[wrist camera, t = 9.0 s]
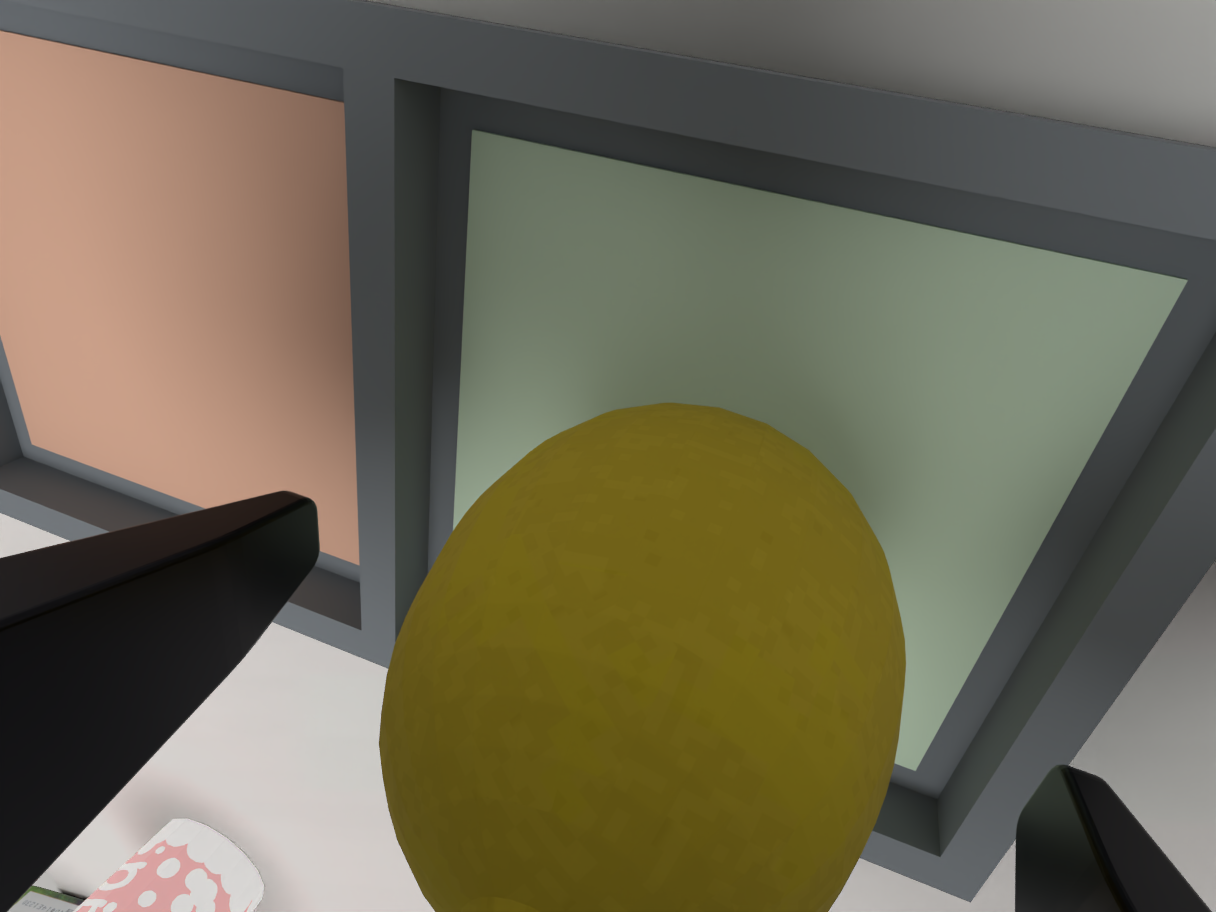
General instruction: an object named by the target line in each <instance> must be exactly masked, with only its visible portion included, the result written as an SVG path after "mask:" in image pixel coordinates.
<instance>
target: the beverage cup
mask: <svg viewBox="0 0 1216 912" xmlns="http://www.w3.org/2000/svg"><path fill="white" fill-rule="evenodd" d="M263 892H264V884H263V882H262V879H261V877H260V874H259V872H258V870H257V869H256V868H255V866H254V865H253V864H252V862H251V861H250V860H249V858H248V857H247V856H246V855H245V853H243V852H242V851H241V850H240V849H239V848H238V847H237V846H236V845H234V844H233V843H232V842H231V841H230V840H229V839H228V838H226V837H225V836H223V835H222V834H220V833H218V832H217V831H215V830H213V829H212V828H210V827H209V826H207V825H204V824H202V823H199V822H196V821H193V820H190V819H172V820H171V821H170V822H169V823H168V824H167V825H166V826H164V827H163V828H162V829H161V830H160V831H159V832H158V833H157V834H156V835H155V836H154V837H153V838H152V839H150V840H149V841H148V842H147V843H146V844H145V845H144V846H143V847H142V848H141V849H140V850H139V851H138V852H136V853H135V854H134V855H133V856H132V857H131V858H130V859H129V860H128V861H127V862H126V863H125V864H124V865H123V866H121V867H120V868H119V869H118V870H117V871H116V872H115V873H114V874H113V875H112V876H111V877H110V878H109V879H107V880H106V881H105V882H104V883H103V884H102V885H101V886H100V887H99V888H98V889H97V890H96V891H95V892H94V893H92V894H91V895H90V896H89V897H88V898H87V899H86V900H85V901H84V902H83V903H82V904H81V905H80V906H78V907H77V908H76V909H75V910H74V911H73V912H253V911H254V909H255V908H256V907H257V905H258V904H259V902H260V901H261V899H262V898H263Z"/></svg>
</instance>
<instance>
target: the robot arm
mask: <svg viewBox="0 0 1216 912" xmlns="http://www.w3.org/2000/svg"><path fill="white" fill-rule="evenodd" d="M319 552H320V542H319V527H318V512H317V506H316V504H315V502H314V501H313V500H312V499H310V498H308V497H305V496H302V495H300V494H297V493H294V492H291V491H284V490H283V491H278V492H273V493H269V494H265V495H261V496H257V497H253V498H249V499H244V500H240V501H236V502H232V503H228V504H224V505H219V506H215V507H211V508H207V509H203V510H199V511H195V512H190V513H186V514H182V515H178V516H174V517H170V518H165V519H161V520H157V521H153V522H149V523H145V524H141V525H136V526H132V527H128V528H124V529H120V530H116V531H111V532H107V533H103V534H99V535H95V536H91V537H87V538H82V539H78V540H74V541H70V542H66V543H62V544H57V545H53V546H49V547H45V548H41V549H37V550H33V551H28V552H24V553H20V554H16V555H12V556H8V557H3V558H0V912H8V911H9V909H10V908H11V907H12V906H13V905H14V904H15V903H16V902H17V901H18V900H19V899H20V898H21V897H22V896H23V895H24V893H25V892H26V891H27V890H28V889H29V888H30V887H31V886H32V885H33V884H34V883H35V882H36V881H37V879H38V878H39V877H40V876H41V875H42V874H43V873H44V872H45V871H46V870H47V869H48V868H49V867H50V866H51V865H52V863H53V862H54V861H55V860H56V859H57V858H58V857H59V856H60V855H61V854H62V853H63V852H64V851H65V850H66V848H67V847H68V846H69V845H70V844H71V843H72V842H73V841H74V840H75V839H76V838H77V837H78V836H79V835H80V833H81V832H82V831H83V830H84V829H85V828H86V827H87V826H88V825H89V824H90V823H91V822H92V821H93V820H94V818H95V817H96V816H97V815H98V814H99V813H100V812H101V811H102V810H103V809H104V808H105V807H106V806H107V805H108V804H109V802H110V801H111V800H112V799H113V798H114V797H115V796H116V795H117V794H118V793H119V792H120V791H121V790H122V789H123V787H124V786H125V785H126V784H127V783H128V782H129V781H130V780H131V779H132V778H133V777H134V776H135V775H136V774H137V772H138V771H139V770H140V769H141V768H142V767H143V766H144V765H145V764H146V763H147V762H148V761H149V760H150V759H151V757H152V756H153V755H154V754H155V753H156V752H157V751H158V750H159V749H160V748H161V747H162V746H163V745H164V744H165V742H166V741H167V740H168V739H169V738H170V737H171V736H172V735H173V734H174V733H175V732H176V731H177V730H178V729H179V727H180V726H181V725H182V724H183V723H184V722H185V721H186V720H187V719H188V718H189V717H190V716H191V715H192V714H193V713H194V711H195V710H196V709H197V708H198V707H199V706H200V705H201V704H202V703H203V702H204V701H205V700H206V699H207V698H208V696H209V695H210V694H211V693H212V692H213V691H214V690H215V689H216V688H217V687H218V686H219V685H220V684H221V683H222V681H223V680H224V679H225V678H226V677H227V676H228V675H229V674H230V673H231V672H232V671H233V669H234V668H235V667H236V666H237V665H238V664H239V663H240V662H241V660H242V659H243V658H244V657H245V656H246V654H247V653H248V652H249V651H250V650H251V648H252V647H253V646H254V645H255V643H256V642H257V641H258V640H259V638H260V637H261V636H262V634H263V633H264V632H265V630H266V629H267V628H268V626H269V625H270V624H271V623H272V621H273V620H274V619H275V617H276V616H277V615H278V613H279V612H280V611H281V609H282V608H283V607H284V606H285V604H286V603H287V602H288V600H289V599H290V598H291V596H292V595H293V594H294V592H295V591H296V590H297V589H298V587H299V586H300V585H301V583H302V582H303V581H304V579H305V578H306V577H307V575H308V574H309V573H310V572H311V570H312V569H313V567H314V566H315V564H316V562H317V559H318V557H319ZM1015 912H1212V911H1211V910H1210V909H1209V908H1208V907H1207V905H1206V904H1205V903H1204V902H1203V900H1202V899H1201V898H1200V897H1199V895H1198V894H1197V893H1196V892H1195V891H1194V889H1193V888H1192V887H1191V886H1190V884H1189V883H1188V882H1187V881H1186V879H1185V878H1184V877H1183V876H1182V875H1181V873H1180V872H1179V871H1178V870H1177V868H1176V867H1175V866H1174V865H1173V863H1172V862H1171V861H1170V860H1169V859H1168V857H1167V856H1166V855H1165V854H1164V852H1163V851H1162V850H1161V849H1160V847H1159V846H1158V845H1157V844H1156V843H1155V841H1154V840H1153V839H1152V838H1151V836H1150V835H1149V834H1148V833H1147V831H1146V830H1145V829H1144V828H1143V827H1142V825H1141V824H1140V823H1139V822H1138V820H1137V819H1136V818H1135V817H1134V815H1133V814H1132V813H1131V812H1130V811H1129V809H1128V808H1127V807H1126V806H1125V804H1124V803H1123V802H1122V801H1121V799H1120V798H1119V797H1118V796H1117V795H1116V793H1115V792H1114V791H1113V790H1112V788H1111V787H1110V786H1109V785H1108V784H1107V783H1106V782H1105V781H1104V780H1103V779H1102V778H1100V777H1098V776H1096V775H1093V774H1090V773H1087V772H1085V771H1082V770H1079V769H1076V768H1073V767H1070V766H1068V765H1056V766H1054V767H1053V768H1052V769H1051V770H1050V771H1049V772H1048V773H1047V775H1046V776H1045V777H1044V779H1043V780H1042V782H1041V783H1040V785H1039V786H1038V787H1037V789H1036V790H1035V792H1034V793H1033V795H1032V796H1031V797H1030V799H1029V800H1028V802H1027V803H1026V805H1025V806H1024V807H1023V809H1022V811H1021V813H1020V815H1019V818H1018V822H1017V828H1016V873H1015Z"/></svg>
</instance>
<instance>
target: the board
mask: <svg viewBox="0 0 1216 912" xmlns="http://www.w3.org/2000/svg"><path fill="white" fill-rule="evenodd" d="M659 403H682V404H691V405H701V406H711V407H720V408H723V409H726V410H729V411H732V412H734V413H737V414H740V415H743V416H746V417H749V418H752V419H755V420H758V421H761V422H764V423H767V424H768V425H770V426H771V427H773V428H775V429H776V430H778V431H779V432H781V433H783V434H784V435H786V436H787V437H789V438H791V439H792V440H794V441H795V442H797V443H799V444H800V445H802V446H803V447H805V448H807V449H808V450H809V451H810V452H811V453H812V454H813V455H814V456H815V457H816V458H817V459H818V460H819V461H820V462H821V463H822V464H823V465H824V466H825V467H826V468H827V469H828V470H829V471H830V472H831V473H832V474H833V475H834V476H835V477H836V478H837V479H838V480H839V481H840V482H841V483H842V484H843V485H844V486H845V487H846V488H847V489H848V491H849V492H850V493H851V494H852V496H853V497H854V499H855V501H856V503H857V504H858V506H859V508H860V509H861V511H862V513H863V515H864V516H865V518H866V520H867V522H868V523H869V525H870V527H871V528H872V530H873V532H874V534H875V535H876V537H877V539H878V541H879V543H880V545H881V547H882V549H883V551H884V553H885V556H886V559H887V562H888V566H889V569H890V573H891V577H892V582H893V586H894V590H895V594H896V599H897V603H898V607H899V612H900V616H901V621H902V626H903V632H904V638H905V651H906V672H905V686H904V696H903V705H902V714H901V723H900V732H899V740H898V746H897V751H896V757H895V763H894V767H893V771H892V775H891V778H890V782H889V786H888V789H887V793H886V796H885V799H884V802H883V804H882V807H881V810H880V813H879V815H878V818H877V821H876V824H875V826H874V828H873V830H872V832H871V834H870V837H869V839H868V841H867V843H866V845H865V847H864V849H863V852H862V854H861V856H860V858H861V859H864V860H866V861H869V862H871V863H874V864H876V865H879V866H881V867H884V868H886V869H889V870H891V871H894V872H896V873H899V874H901V875H904V876H906V877H909V878H911V879H914V880H916V881H919V882H921V883H924V884H926V885H929V886H931V887H934V888H936V889H939V890H941V891H944V892H946V893H949V894H951V895H954V896H956V897H959V898H961V899H964V900H966V901H969V902H971V901H972V900H973V898H974V897H975V895H976V894H977V893H978V891H979V890H980V888H981V887H982V886H983V884H984V883H985V881H986V880H987V879H988V877H989V876H990V874H991V873H992V872H993V870H994V869H995V867H996V866H997V865H998V863H999V862H1000V860H1001V859H1002V858H1003V856H1004V855H1005V853H1006V852H1007V851H1008V849H1009V848H1010V846H1011V845H1012V844H1013V842H1014V841H1015V839H1016V828H1017V822H1018V818H1019V815H1020V813H1021V811H1022V809H1023V807H1024V806H1025V805H1026V803H1027V802H1028V800H1029V799H1030V797H1031V796H1032V795H1033V793H1034V792H1035V790H1036V789H1037V787H1038V786H1039V785H1040V783H1041V782H1042V780H1043V779H1044V777H1045V776H1046V775H1047V773H1048V772H1049V771H1050V770H1051V769H1052V768H1053V767H1054V766H1056V765H1069V764H1070V762H1071V761H1072V760H1073V758H1074V757H1075V755H1076V754H1077V753H1078V751H1079V750H1080V748H1081V747H1082V746H1083V744H1084V743H1085V741H1086V740H1087V739H1088V737H1089V736H1090V734H1091V733H1092V732H1093V730H1094V729H1095V727H1096V726H1097V725H1098V723H1099V722H1100V720H1101V719H1102V718H1103V716H1104V715H1105V713H1106V712H1107V711H1108V709H1109V708H1110V706H1111V705H1112V704H1113V702H1114V701H1115V699H1116V698H1117V697H1118V695H1119V694H1120V692H1121V691H1122V690H1123V688H1124V687H1125V685H1126V684H1127V683H1128V681H1129V680H1130V678H1131V677H1132V676H1133V674H1134V673H1135V671H1136V670H1137V669H1138V667H1139V666H1140V664H1141V663H1142V662H1143V660H1144V659H1145V657H1146V656H1147V655H1148V653H1149V652H1150V650H1151V649H1152V648H1153V646H1154V645H1155V643H1156V642H1157V641H1158V639H1159V638H1160V636H1161V635H1162V634H1163V632H1164V631H1165V629H1166V628H1167V627H1168V625H1169V624H1170V622H1171V621H1172V620H1173V618H1174V617H1175V615H1176V614H1177V613H1178V611H1179V610H1180V608H1181V607H1182V606H1183V604H1184V603H1185V601H1186V600H1187V599H1188V597H1189V596H1190V594H1191V593H1192V592H1193V590H1194V589H1195V587H1196V586H1197V585H1198V583H1199V582H1200V580H1201V579H1202V578H1203V576H1204V575H1205V573H1206V572H1207V571H1208V569H1209V568H1210V566H1211V565H1212V564H1213V562H1214V561H1215V559H1216V148H1215V147H1209V146H1204V145H1198V144H1192V143H1186V142H1181V141H1175V140H1169V139H1163V138H1157V137H1152V136H1146V135H1140V134H1134V133H1128V132H1123V131H1117V130H1111V129H1105V128H1100V127H1094V126H1088V125H1082V124H1076V123H1071V122H1065V121H1059V120H1053V119H1047V118H1042V117H1036V116H1030V115H1024V114H1019V113H1013V112H1007V111H1001V110H995V109H990V108H984V107H978V106H972V105H967V104H961V103H955V102H949V101H943V100H938V99H932V98H926V97H920V96H914V95H909V94H903V93H897V92H891V91H886V90H880V89H874V88H868V87H862V86H857V85H851V84H845V83H839V82H833V81H828V80H822V79H816V78H810V77H805V76H799V75H793V74H787V73H781V72H776V71H770V70H764V69H758V68H752V67H747V66H741V65H735V64H729V63H724V62H718V61H712V60H706V59H700V58H695V57H689V56H683V55H677V54H672V53H666V52H660V51H654V50H648V49H643V48H637V47H631V46H625V45H619V44H614V43H608V42H602V41H596V40H591V39H585V38H579V37H573V36H567V35H562V34H556V33H550V32H544V31H538V30H533V29H527V28H521V27H515V26H510V25H504V24H498V23H492V22H486V21H481V20H475V19H469V18H463V17H457V16H452V15H446V14H440V13H434V12H429V11H423V10H417V9H411V8H405V7H400V6H394V5H388V4H382V3H377V2H371V1H365V0H0V513H2V514H5V515H7V516H10V517H12V518H15V519H17V520H20V521H22V522H25V523H27V524H30V525H32V526H34V527H37V528H39V529H42V530H44V531H47V532H49V533H52V534H54V535H57V536H59V537H62V538H64V539H67V540H69V541H74V540H78V539H82V538H87V537H91V536H95V535H99V534H103V533H107V532H111V531H116V530H120V529H124V528H128V527H132V526H136V525H141V524H145V523H149V522H153V521H157V520H161V519H165V518H170V517H174V516H178V515H182V514H186V513H190V512H195V511H199V510H203V509H207V508H211V507H215V506H219V505H224V504H228V503H232V502H236V501H240V500H244V499H249V498H253V497H257V496H261V495H265V494H269V493H273V492H278V491H283V490H284V491H291V492H294V493H297V494H300V495H302V496H305V497H308V498H310V499H312V500H313V501H314V502H315V504H316V506H317V512H318V527H319V542H320V552H319V557H318V559H317V562H316V564H315V566H314V567H313V569H312V570H311V572H310V573H309V574H308V575H307V577H306V578H305V579H304V581H303V582H302V583H301V585H300V586H299V587H298V589H297V590H296V591H295V592H294V594H293V595H292V596H291V598H290V599H289V600H288V602H287V603H286V604H285V606H284V607H283V608H282V609H281V611H280V612H279V613H278V615H277V616H276V617H275V619H274V620H273V621H272V622H274V623H276V624H279V625H281V626H284V627H286V628H289V629H291V630H294V631H296V632H299V633H301V634H303V635H306V636H308V637H311V638H313V639H316V640H318V641H321V642H323V643H326V644H328V645H331V646H333V647H336V648H338V649H341V650H343V651H346V652H348V653H351V654H353V655H356V656H358V657H361V658H363V659H366V660H368V661H371V662H373V663H376V664H378V665H381V666H383V667H386V668H388V669H389V665H390V661H391V657H392V653H393V649H394V646H395V643H396V640H397V637H398V635H399V632H400V630H401V627H402V625H403V622H404V620H405V617H406V615H407V613H408V611H409V609H410V607H411V605H412V603H413V601H414V598H415V596H416V594H417V592H418V591H419V589H420V587H421V585H422V584H423V582H424V580H425V578H426V577H427V575H428V573H429V571H430V570H431V568H432V566H433V564H434V563H435V561H436V559H437V557H438V556H439V554H440V552H441V550H442V549H443V547H444V545H445V544H446V542H447V540H448V538H449V537H450V535H451V533H452V532H453V530H454V529H455V527H456V526H457V524H458V523H459V522H460V520H461V519H462V517H463V516H464V514H465V513H466V512H467V511H468V509H469V508H470V507H471V506H472V505H473V504H474V502H475V501H476V500H477V499H478V498H479V497H480V495H482V494H483V493H484V492H485V491H486V490H487V489H488V488H489V487H490V486H491V485H492V484H493V483H494V482H495V481H497V480H498V479H499V478H500V477H501V476H502V475H504V474H505V473H506V472H507V471H508V470H509V469H510V468H512V467H513V466H514V465H515V464H516V463H517V462H519V461H520V460H521V459H522V458H523V457H524V456H525V455H527V454H528V453H529V452H530V451H532V450H533V449H534V448H536V447H537V446H538V445H540V444H541V443H543V442H544V441H545V440H547V439H549V438H551V437H553V436H555V435H557V434H558V433H560V432H563V431H565V430H567V429H569V428H572V427H574V426H576V425H578V424H581V423H583V422H585V421H588V420H590V419H592V418H594V417H597V416H599V415H601V414H604V413H607V412H610V411H613V410H616V409H623V408H630V407H637V406H644V405H651V404H659Z"/></svg>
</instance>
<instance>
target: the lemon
mask: <svg viewBox="0 0 1216 912" xmlns="http://www.w3.org/2000/svg"><path fill="white" fill-rule="evenodd" d="M905 672H906V651H905V638H904V632H903V626H902V621H901V616H900V612H899V607H898V603H897V599H896V594H895V590H894V586H893V582H892V577H891V573H890V569H889V566H888V562H887V559H886V556H885V553H884V551H883V549H882V547H881V545H880V543H879V541H878V539H877V537H876V535H875V534H874V532H873V530H872V528H871V527H870V525H869V523H868V522H867V520H866V518H865V516H864V515H863V513H862V511H861V509H860V508H859V506H858V504H857V503H856V501H855V499H854V497H853V496H852V494H851V493H850V492H849V491H848V489H847V488H846V487H845V486H844V485H843V484H842V483H841V482H840V481H839V480H838V479H837V478H836V477H835V476H834V475H833V474H832V473H831V472H830V471H829V470H828V469H827V468H826V467H825V466H824V465H823V464H822V463H821V462H820V461H819V460H818V459H817V458H816V457H815V456H814V455H813V454H812V453H811V452H810V451H809V450H808V449H807V448H805V447H803V446H802V445H800V444H799V443H797V442H795V441H794V440H792V439H791V438H789V437H787V436H786V435H784V434H783V433H781V432H779V431H778V430H776V429H775V428H773V427H771V426H770V425H768V424H767V423H764V422H761V421H758V420H755V419H752V418H749V417H746V416H743V415H740V414H737V413H734V412H732V411H729V410H726V409H723V408H720V407H711V406H701V405H691V404H682V403H659V404H651V405H644V406H637V407H630V408H623V409H616V410H613V411H610V412H607V413H604V414H601V415H599V416H597V417H594V418H592V419H590V420H588V421H585V422H583V423H581V424H578V425H576V426H574V427H572V428H569V429H567V430H565V431H563V432H560V433H558V434H557V435H555V436H553V437H551V438H549V439H547V440H545V441H544V442H543V443H541V444H540V445H538V446H537V447H536V448H534V449H533V450H532V451H530V452H529V453H528V454H527V455H525V456H524V457H523V458H522V459H521V460H520V461H519V462H517V463H516V464H515V465H514V466H513V467H512V468H510V469H509V470H508V471H507V472H506V473H505V474H504V475H502V476H501V477H500V478H499V479H498V480H497V481H495V482H494V483H493V484H492V485H491V486H490V487H489V488H488V489H487V490H486V491H485V492H484V493H483V494H482V495H480V497H479V498H478V499H477V500H476V501H475V502H474V504H473V505H472V506H471V507H470V508H469V509H468V511H467V512H466V513H465V514H464V516H463V517H462V519H461V520H460V522H459V523H458V524H457V526H456V527H455V529H454V530H453V532H452V533H451V535H450V537H449V538H448V540H447V542H446V544H445V545H444V547H443V549H442V550H441V552H440V554H439V556H438V557H437V559H436V561H435V563H434V564H433V566H432V568H431V570H430V571H429V573H428V575H427V577H426V578H425V580H424V582H423V584H422V585H421V587H420V589H419V591H418V592H417V594H416V596H415V598H414V601H413V603H412V605H411V607H410V609H409V611H408V613H407V615H406V617H405V620H404V622H403V625H402V627H401V630H400V632H399V635H398V637H397V640H396V643H395V646H394V649H393V653H392V657H391V661H390V665H389V669H388V673H387V678H386V685H385V692H384V699H383V705H382V712H381V725H380V738H379V748H380V757H381V766H382V774H383V781H384V786H385V792H386V797H387V803H388V808H389V812H390V816H391V819H392V823H393V826H394V830H395V833H396V837H397V840H398V842H399V845H400V847H401V849H402V851H403V853H404V855H405V858H406V860H407V862H408V864H409V866H410V868H411V871H412V873H413V875H414V877H415V879H416V881H417V883H418V885H419V887H420V889H421V891H422V893H423V895H424V897H425V898H426V899H427V901H428V902H429V904H430V905H431V906H432V908H433V909H434V910H435V912H828V911H829V910H830V908H831V906H832V905H833V903H834V902H835V900H836V899H837V897H838V896H839V894H840V893H841V891H842V889H843V887H844V885H845V883H846V882H847V880H848V878H849V876H850V874H851V872H852V870H853V869H854V867H855V865H856V863H857V861H858V859H859V858H860V856H861V854H862V852H863V849H864V847H865V845H866V843H867V841H868V839H869V837H870V834H871V832H872V830H873V828H874V826H875V824H876V821H877V818H878V815H879V813H880V810H881V807H882V804H883V802H884V799H885V796H886V793H887V789H888V786H889V782H890V778H891V775H892V771H893V767H894V763H895V757H896V751H897V746H898V740H899V732H900V723H901V714H902V705H903V696H904V686H905Z"/></svg>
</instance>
